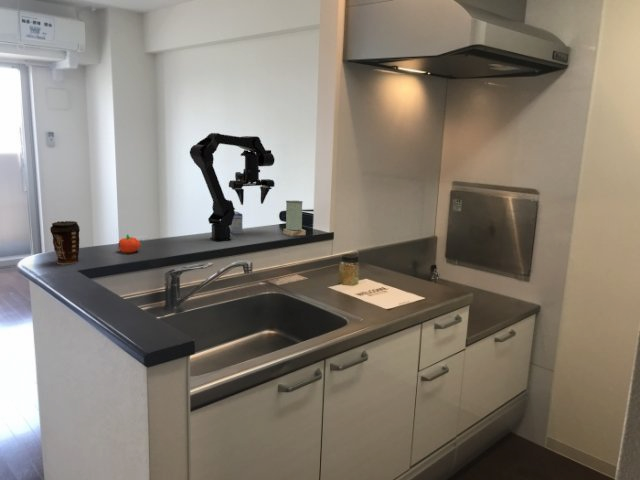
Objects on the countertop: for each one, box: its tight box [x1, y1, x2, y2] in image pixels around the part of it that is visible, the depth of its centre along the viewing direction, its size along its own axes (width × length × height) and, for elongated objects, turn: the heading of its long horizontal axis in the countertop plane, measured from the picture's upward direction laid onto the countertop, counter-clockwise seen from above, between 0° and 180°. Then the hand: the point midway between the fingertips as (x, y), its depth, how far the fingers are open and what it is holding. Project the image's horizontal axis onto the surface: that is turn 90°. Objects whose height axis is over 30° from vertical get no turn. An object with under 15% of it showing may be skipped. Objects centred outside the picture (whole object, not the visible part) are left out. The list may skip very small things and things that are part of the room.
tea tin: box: [285, 200, 303, 230], centre depth 225 cm, size 5×5×12 cm
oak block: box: [282, 228, 306, 237], centre depth 226 cm, size 7×7×2 cm
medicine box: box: [229, 210, 244, 235], centre depth 226 cm, size 8×4×9 cm, turn 25°
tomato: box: [117, 234, 141, 254], centre depth 185 cm, size 7×8×6 cm
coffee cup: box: [49, 220, 81, 266], centre depth 168 cm, size 9×8×13 cm
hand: (252, 204), depth 220 cm, fingers open, 9 cm apart
